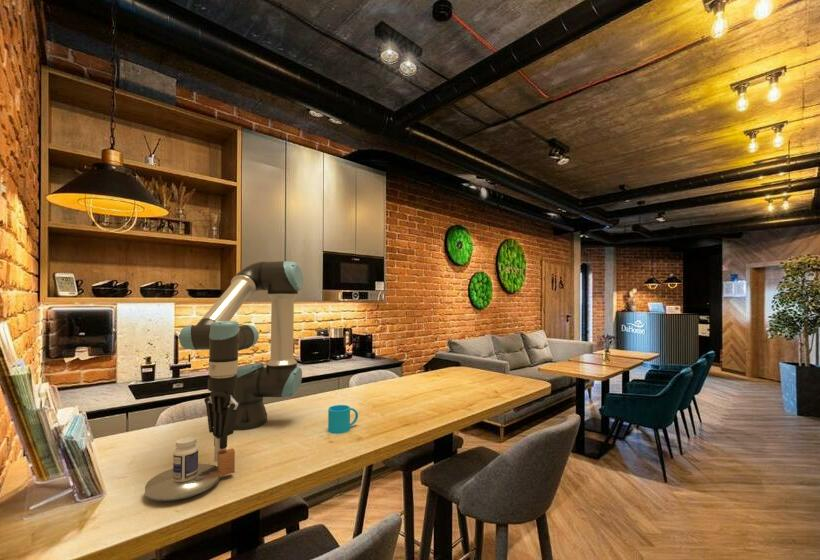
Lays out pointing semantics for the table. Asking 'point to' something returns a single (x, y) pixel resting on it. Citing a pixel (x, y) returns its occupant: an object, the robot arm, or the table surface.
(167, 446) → the table surface
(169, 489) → the disc
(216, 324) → the robot arm
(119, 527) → the table surface
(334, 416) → the mug
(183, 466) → the pill bottle
